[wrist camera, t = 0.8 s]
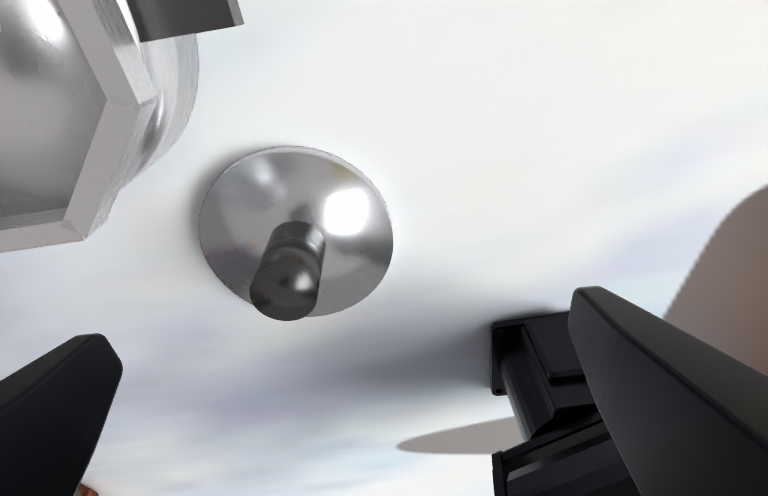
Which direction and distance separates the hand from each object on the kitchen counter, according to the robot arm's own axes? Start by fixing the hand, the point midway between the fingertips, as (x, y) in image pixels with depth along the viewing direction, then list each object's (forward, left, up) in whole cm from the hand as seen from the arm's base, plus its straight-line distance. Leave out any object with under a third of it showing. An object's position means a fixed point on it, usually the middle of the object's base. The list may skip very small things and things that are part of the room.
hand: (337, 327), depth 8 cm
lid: (-5, +4, -13) cm, 14 cm away
